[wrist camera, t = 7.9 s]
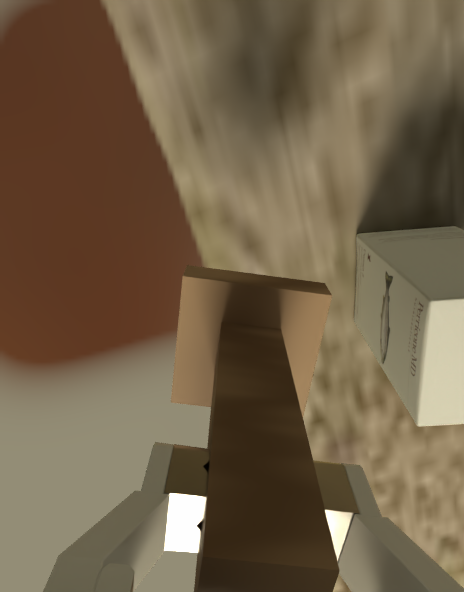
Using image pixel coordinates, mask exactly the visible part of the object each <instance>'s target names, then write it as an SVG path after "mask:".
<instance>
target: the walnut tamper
mask: <svg viewBox="0 0 464 592" xmlns="http://www.w3.org/2000/svg"><path fill="white" fill-rule="evenodd" d="M331 298H332V294H331V293H330V291H329V290H328V288H327V286H326V285H325V283H319V282H312V281H304V280H296V279H289V278H281V277H273V276H266V275H258V274H251V273H243V272H235V271H228V270H220V269H212V268H205V267H197V266H189V265H187V267H186V270H185V272H184V275H183V281H182V291H181V301H180V312H179V322H178V333H177V344H176V354H175V365H174V375H173V386H172V396H171V402H172V403H180V404H190V405H198V406H206V407H211V415H210V426H209V436H208V447H207V449H210V461H209V468H208V485H207V497H206V504H205V511H204V518H203V520H202V530H201V538H200V545H199V551H198V555H197V566H196V577H195V587H194V592H333V589H334V586H335V583H336V580H337V577H338V574H339V571H340V570H339V566H338V562H337V557H336V553H335V549H334V545H333V541H332V537H331V533H330V529H329V524H328V520H327V516H326V512H325V508H324V504H323V500H322V495H321V491H320V487H319V483H318V479H317V475H316V471H315V466H314V462H313V458H312V454H311V450H310V446H309V442H308V438H307V433H306V429H305V425H304V421H303V415H304V411H305V406H306V402H307V398H308V394H309V390H310V386H311V381H312V377H313V373H314V369H315V365H316V361H317V357H318V352H319V348H320V344H321V340H322V336H323V332H324V327H325V323H326V319H327V315H328V311H329V307H330V302H331Z"/></svg>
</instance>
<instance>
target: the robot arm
mask: <svg viewBox="0 0 464 592" xmlns="http://www.w3.org/2000/svg"><path fill="white" fill-rule="evenodd" d="M209 461H210V449H205V448H197V447H190V446H183V445H176V444H174V445H173V444H166V443H158V442H155V444H154V445H153V449H152V452H151V456H150V459H149V463H148V467H147V470H146V474H145V478H144V482H143V485H142V489H141V491H134V492H133V493H132V494H131V495H130V496H128V497H127V498H126V499H125V500H124V501H122V502H121V503H120V504H119V505H118V506H116V507H115V508H114V509H113V510H112V511H111V512H109V513H108V514H107V515H106V516H105V517H104V518H102V519H101V520H100V521H99V522H98V523H97V524H95V525H94V526H93V527H92V528H91V529H89V530H88V531H87V532H86V533H85V534H84V535H82V536H81V537H80V538H79V539H78V540H77V541H76V542H74V543H73V544H72V545H71V546H69V547H68V548H67V549H66V550H65V551H64V552H62V553H61V554H60V555H59V556H58V558H57V561H56V563H55V565H54V568H53V570H52V572H51V575H50V577H49V580H48V582H47V584H46V586H45V588H44V591H43V592H133V591H134V590H135V589H136V587H137V586H138V585H139V584H140V583H141V581H142V580H143V579H144V577H145V576H146V575H147V574H148V572H149V571H150V570H151V569H152V567H153V566H154V565H155V563H156V562H157V561H158V559H159V558H160V557H161V556H162V554H163V553H164V550H170V551H184V552H185V551H186V552H198V551H199V545H200V538H201V530H202V520H203V518H204V511H205V504H206V497H207V485H208V468H209ZM313 462H314V466H315V471H316V475H317V479H318V483H319V487H320V491H321V495H322V500H323V504H324V508H325V512H326V516H327V520H328V524H329V529H330V533H331V537H332V541H333V545H334V549H335V553H336V557H337V562H338V566H339V570H340V571H339V574H340V575H341V577H342V578H343V580H344V581H345V583H346V584H347V585H348V587H349V588H350V590H351V591H352V592H464V588H463V587H462V586H461V585H459V584H458V583H457V582H456V581H455V580H454V579H453V578H452V577H451V576H450V575H449V574H448V573H447V572H445V571H444V570H443V569H442V568H441V567H440V566H439V565H438V564H437V563H436V562H435V561H434V560H433V559H432V558H430V557H429V556H428V555H427V554H426V553H425V552H424V551H423V550H422V549H421V548H420V547H419V546H418V545H416V544H415V543H414V542H413V541H412V540H411V539H410V538H409V537H408V536H407V535H406V534H405V533H404V532H403V531H401V530H400V529H399V528H398V527H397V526H396V525H395V524H394V523H393V522H392V521H391V520H390V519H389V518H386V517H382V516H381V513H380V510H379V508H378V505H377V503H376V500H375V498H374V495H373V493H372V490H371V488H370V485H369V483H368V480H367V478H366V475H365V473H364V470H363V468H362V467H361V466H360V465H354V464H344V463H341V464H340V463H331V462H322V461H313Z"/></svg>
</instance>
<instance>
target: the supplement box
mask: <svg viewBox="0 0 464 592" xmlns="http://www.w3.org/2000/svg"><path fill="white" fill-rule="evenodd" d="M356 241H357V273H356V297H355V312H354V322H355V324H356V326H357V327H358V329H359V330H360V332H361V334H362V336H363V337H364V339H365V341H366V342H367V344H368V346H369V347H370V349H371V351H372V352H373V354H374V355H375V357H376V359H377V360H378V362H379V364H380V365H381V367H382V369H383V370H384V372H385V374H386V375H387V377H388V378H389V380H390V382H391V383H392V385H393V387H394V388H395V390H396V391H397V393H398V395H399V396H400V398H401V400H402V401H403V403H404V405H405V407H406V408H407V409H408V411H409V413H410V414H411V416H412V418H413V419H414V421H415V423H416V425H417V426H435V425H453V424H464V230H463V229H461V228H458V227H456V226H449V227H436V228H424V229H410V230H397V231H384V232H371V233H360V234H357V236H356Z"/></svg>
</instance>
